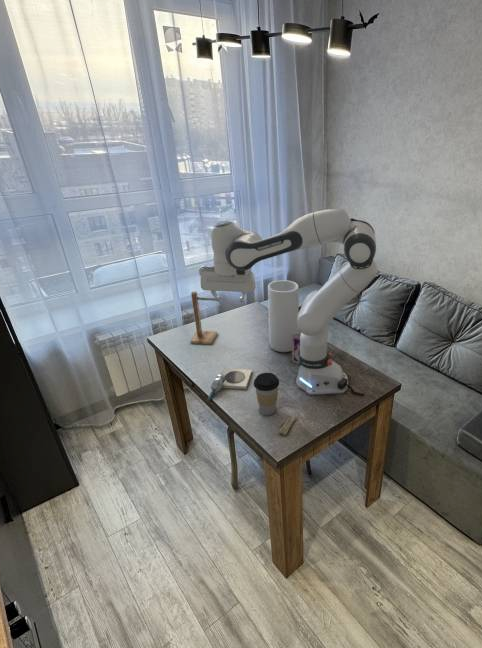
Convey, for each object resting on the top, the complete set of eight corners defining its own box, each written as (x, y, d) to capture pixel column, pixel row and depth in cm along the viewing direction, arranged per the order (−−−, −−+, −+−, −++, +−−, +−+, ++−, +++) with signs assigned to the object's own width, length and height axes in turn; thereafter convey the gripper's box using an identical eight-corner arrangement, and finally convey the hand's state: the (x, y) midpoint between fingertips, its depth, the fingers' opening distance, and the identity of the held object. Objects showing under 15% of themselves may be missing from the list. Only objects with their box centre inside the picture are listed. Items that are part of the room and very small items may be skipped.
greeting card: (291, 363, 182) (291, 335, 174) (298, 355, 188) (298, 327, 180) (313, 369, 178) (314, 341, 170) (320, 361, 184) (321, 333, 176)
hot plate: (251, 372, 174) (251, 369, 174) (246, 389, 164) (245, 386, 163) (224, 370, 175) (224, 367, 174) (217, 387, 164) (216, 384, 163)
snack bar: (286, 434, 142) (278, 430, 142) (284, 437, 143) (277, 433, 143) (296, 417, 149) (289, 413, 150) (295, 420, 150) (288, 416, 151)
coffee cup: (275, 420, 149) (274, 388, 141) (251, 416, 150) (249, 384, 143) (283, 404, 157) (282, 373, 149) (260, 400, 158) (258, 369, 151)
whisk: (216, 370, 162) (190, 416, 151) (229, 375, 162) (204, 422, 151) (216, 373, 166) (191, 419, 154) (228, 379, 166) (204, 425, 155)
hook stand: (227, 334, 201) (222, 289, 189) (221, 345, 193) (216, 298, 180) (197, 333, 202) (191, 287, 189) (191, 343, 193) (183, 296, 180)
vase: (263, 347, 193) (260, 287, 177) (281, 335, 203) (280, 277, 187) (287, 356, 187) (286, 295, 170) (304, 343, 197) (305, 284, 181)
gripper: (195, 268, 143) (200, 303, 150) (252, 271, 143) (254, 305, 150) (200, 262, 148) (205, 296, 155) (255, 265, 148) (257, 298, 155)
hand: (229, 301), depth 152 cm, fingers open, 8 cm apart
